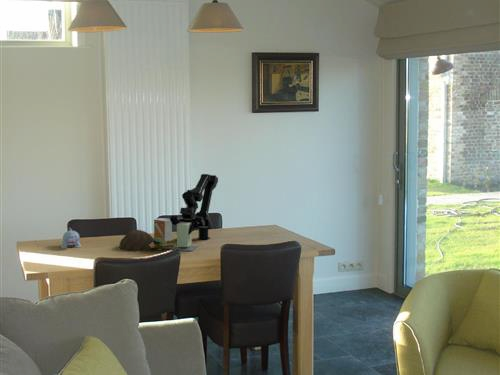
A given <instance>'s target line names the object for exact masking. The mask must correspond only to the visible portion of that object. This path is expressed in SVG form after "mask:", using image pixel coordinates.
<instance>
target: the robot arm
mask: <svg viewBox="0 0 500 375" xmlns="http://www.w3.org/2000/svg"><path fill="white" fill-rule="evenodd" d="M218 183H219V177H218V176H216V175H215V174H208V173H207V174H206V173H202V174H201V175H200V178H199V180H198V182H197V183H196V185H195V187H194V188H191V189H187V191H185V192H183V193H182V194H181V197H182V199H183V201H184V204H185V205H186V207H180V211H179V214H181V217H179V215H177V214H176V215H175V214H173V215H170V218H169V219H170V220H171V222H172V225H173V226H176V227H177V224H178V223H181V222H186V223H191V226H190V229H189V232H188V234H190V233H191V234H192V232H194V231H195V230H196V229H197V230H198V237H197V238H196V240H203V241H205V240H206V241H208V240H209V239H210V238H211V236H209V230H211V229H212V227H213V223H212V221H211V217H210V215H209V210H210V206H211V200H212V194H213V191H214V190H215V189H216V188H217V185H218ZM199 202H201V205H200V209H199V205H198V203H199ZM198 209H199V211H197V210H198Z"/></svg>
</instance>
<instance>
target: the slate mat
mask: <svg viewBox="0 0 500 375" xmlns="http://www.w3.org/2000/svg"><path fill="white" fill-rule="evenodd" d="M198 247H199V246H198V245H190V246H188V247H184V246H179V247H175V246H173V247H172V248H170V250H178V251H177V252H189V253H190V252H194V251H195V250H196V249H197V248H198ZM170 250H169V251H170Z"/></svg>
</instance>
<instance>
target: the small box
mask: <svg viewBox="0 0 500 375" xmlns="http://www.w3.org/2000/svg"><path fill="white" fill-rule="evenodd" d="M153 220H154V221H153V239H154V238H164V239H165V240H166V241H167V240H172V239H173V238H172V236H173V234H172V231H173V230H172V229H173V228H172V227H173V226H172V225H173V224H172V222H171V220H170V218H162V217H159V218H156V219H153ZM172 241H173V240H172Z"/></svg>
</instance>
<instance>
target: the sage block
mask: <svg viewBox="0 0 500 375" xmlns="http://www.w3.org/2000/svg"><path fill="white" fill-rule="evenodd" d="M190 226H191V223H186V222H181V223H178V224H177V226H176V245H177V246H184V247H188V246H193V245H192V243H193V242H192V232H191V233H190V234H188V232H189V229H190Z"/></svg>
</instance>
